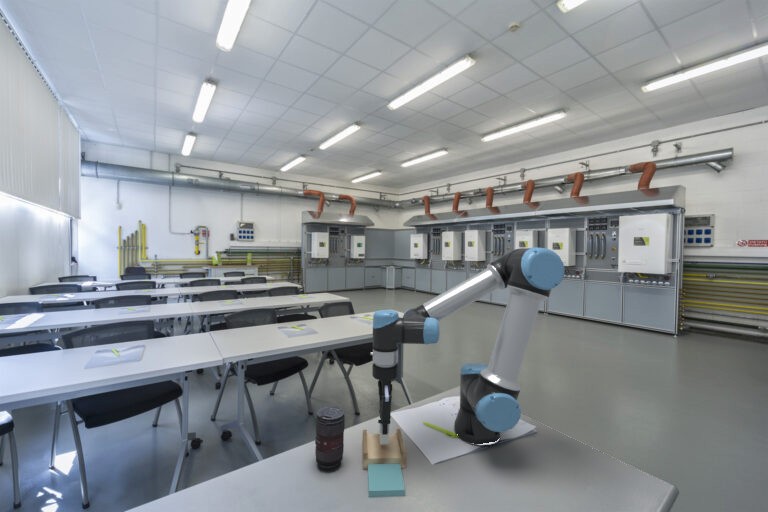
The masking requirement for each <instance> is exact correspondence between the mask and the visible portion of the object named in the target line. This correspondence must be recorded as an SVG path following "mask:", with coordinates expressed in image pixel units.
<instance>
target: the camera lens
mask: <svg viewBox="0 0 768 512" xmlns="http://www.w3.org/2000/svg"><path fill="white" fill-rule="evenodd" d="M345 416H346V415H345V411H344V409H343V408H341V407H338V406H333V405H331V406H324V407H322V408H320V409H318V411H317V413H316V417H315V434H316V435H315V437H314V443H315V461H316V464H317V468H318V470H320V471H321V472H324V473H332V472H335V471H337V470H338V469H339V468H340V467H341V465H342V460H343V459H344V449H345V448H344V447H345V446H344V444H345V443H344V437H345V436H344V434H345V433H344V432H345V425H346V424H345V423H346V419H345V418H346V417H345Z"/></svg>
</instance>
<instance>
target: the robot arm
mask: <svg viewBox="0 0 768 512" xmlns="http://www.w3.org/2000/svg"><path fill="white" fill-rule="evenodd" d="M565 272H566V271H565V265H564V262H563V260H562V258H561V257H560V255H559V254H558V253H556V252H555V251H554V250H552V249H549V248H546V247H539V246H536V247H535V246H534V247H527V248H525V247H524V248H522V247H521V248H516V249H514V250H511V251H509V252H507V253H505V254H504V255H502V256H501V257H499V258H497V259H495V260H493V261H492V262H490V263H489V264H487V265H486V269H484V270H482V271H480V272H479V273H476V274H475V275H473V276H471V277H469V278H468V279H466V280H464V281H461V282H460V283H458V284H456V285H455V286H453V287H451V288H450V289H449V288H448V289H447V290H446V291H444V292H442V293H440V294H439V295H437V296H435V297H433V298H431V299H430V300H428V301H426V302H424V303H422V304H421V305H419V306H416V307H415V308H412V307H411V308H408V309H407V310H405V312H404V313H403V315H402V317H401V316H399V313H398V311H396V310H392V309H380V310H376V311H374V314H373V315H372V317H373V319H372V352H371V351H370V356H372V366H371V367H372V374H371V375H372V377H373V378H374V379H375V380H378V381H377V386H378V387H377V388H378V397H379V400H378V401H379V411H378V413H379V419H378V422H377V423H378V424H379V434H380V444H389V434H390V425H391V419H392V416H391V413H392V412H391V410H392V409H391V408H392V398H393V397H392V391H393V384H392V381H393V380H396V379H397V377H398V375H399V373H398V372H399V369H398V368H399V365H398V362H399V344H400V345H402V344H406V345H407V344H408V345H409V344H410V345H432V344H433V345H434V344H437V343H438V342H439V340H440V324H439V322H440V321H442V320H443V319H446V318H447V317H449V316H450V315H453V314H454V313H456V312H458V311H460V310H461V309H462V310H463V308H466V307H468V306H469V305H471V304H473V303H474V302H476V301H478V300H480V299H482V298H484V297H486V296H487V295H490V294H491V293H494V292H495V291H497V290H498V289H500V290H505V289H506V288H507V289H508V290H509V294H510V295H509V298H508V300H507V304H506V307H505V310H504V314H503V317H502V320H501V322H500V327H499V329H498V333H497V336H496V339H495V342H494V346H493V348H492V353H491V356H490V358H489V362H488V364H486V363H485V364H484V363H476V362H475V363H465V364H463V365H461V368H460V374H459V375H460V378H459V379H460V381H459V383H460V384H459V391H460V392H459V409H458V411H457V415H456V417H455V420H454V425H453V427H454V428H453V430H454V433H456V434H458V436H459V437H458V436H457V437H458V438H459V439H461V441H463V442H465V441H466V443H467V442H469V443H468V444H470V443H474V444H483V443H489V442H495V441H497V440H498V439H499V438H500V436H501V435H502V433H504V432H507V431H508V430H512V429H513V428H514V427H516V425H518V423H519V421H520V420H521V415H522V414H521V413H522V412H521V411H522V410H521V407H520V403H519V401H518V399H519V396H520V391H521V386H520V384H519V382H518V378H519V374H520V370H521V368H522V365H523V361H524V360H525V359H524V358H525V355H526V352H527V349H528V345H529V343H530V339H531V336H532V333H533V329H534V326H535V323H536V319H537V317H538V313H539V309H540V306H541V304H542V302H544V301H546V300H548V299H549V298H550V295H551V292H552V289H554V288H556V287H558V286H559V285H561V283H562V281H563V280H564V277H565ZM456 434H455V435H456ZM500 439H501V438H500ZM496 444H497V443H495V444H492V445H490V446H494V445H496Z"/></svg>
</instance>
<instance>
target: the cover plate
mask: <svg viewBox="0 0 768 512" xmlns="http://www.w3.org/2000/svg"><path fill="white" fill-rule="evenodd" d="M403 478H404V477H403V472H402V468H401V466H400V464H368V469H367V482H368V483H367V484H368V489H367V491H368V498H375V497H376V498H381V497H382V498H384V497H405V496H406V495H405V494H406V493H405V492H406V489H405V482H404V479H403Z"/></svg>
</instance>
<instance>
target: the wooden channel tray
mask: <svg viewBox="0 0 768 512" xmlns="http://www.w3.org/2000/svg"><path fill="white" fill-rule="evenodd" d="M361 441H362V442H361V445H362V470H368V464H400V466H401V469H406V465H407V452H406V451H407V450H406V446H405V443H404V438H403V435H402V431H401V428H396V432H395V433H389V444H380V433H367V429H362V440H361Z"/></svg>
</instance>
